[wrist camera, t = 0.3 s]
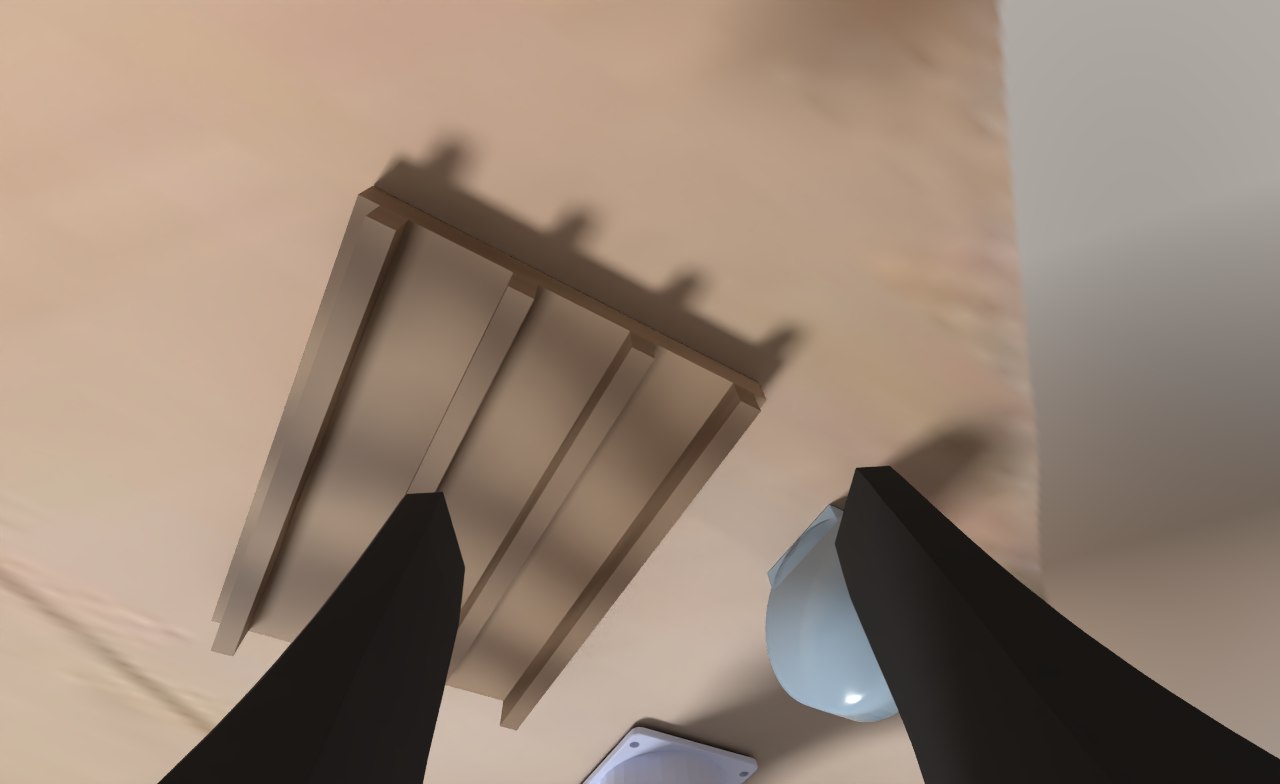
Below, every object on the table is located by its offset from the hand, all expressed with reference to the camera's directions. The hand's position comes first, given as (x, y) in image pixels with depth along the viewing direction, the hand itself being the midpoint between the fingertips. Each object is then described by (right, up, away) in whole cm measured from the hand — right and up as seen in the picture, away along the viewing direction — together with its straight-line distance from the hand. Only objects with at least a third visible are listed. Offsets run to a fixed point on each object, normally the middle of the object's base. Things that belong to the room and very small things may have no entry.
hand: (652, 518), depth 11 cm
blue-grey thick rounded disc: (+7, -4, +15) cm, 17 cm away
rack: (-7, -2, +13) cm, 14 cm away
